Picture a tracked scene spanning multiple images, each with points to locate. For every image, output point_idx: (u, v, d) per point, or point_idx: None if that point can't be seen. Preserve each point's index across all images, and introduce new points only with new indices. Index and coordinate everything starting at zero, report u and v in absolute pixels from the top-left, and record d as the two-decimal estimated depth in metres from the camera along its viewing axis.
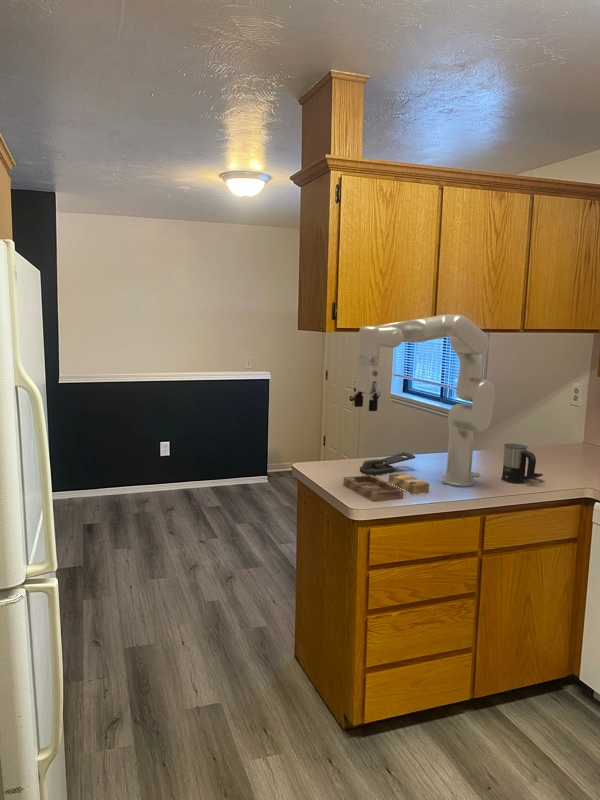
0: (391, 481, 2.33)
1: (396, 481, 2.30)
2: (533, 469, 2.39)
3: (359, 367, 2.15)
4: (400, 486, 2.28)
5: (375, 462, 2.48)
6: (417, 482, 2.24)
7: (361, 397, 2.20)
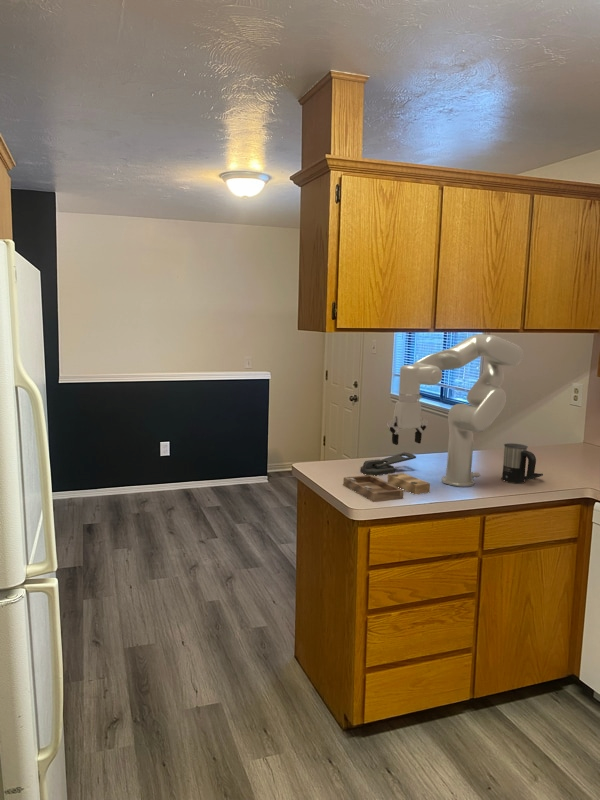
0: (391, 481, 2.33)
1: (396, 481, 2.30)
2: (533, 469, 2.39)
3: (407, 406, 2.21)
4: (401, 486, 2.28)
5: (376, 462, 2.48)
6: (418, 482, 2.25)
7: None
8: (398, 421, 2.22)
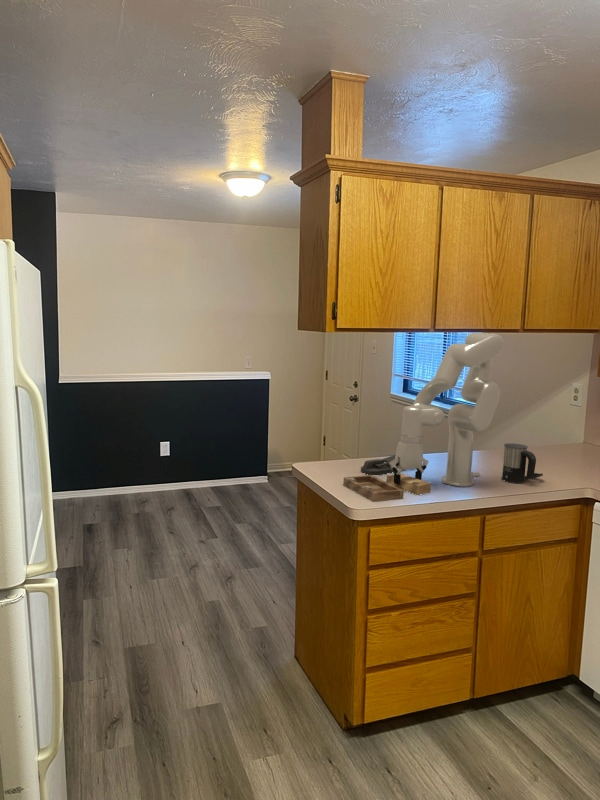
0: (390, 482, 2.31)
1: None
2: (533, 469, 2.39)
3: (410, 446, 2.24)
4: (401, 487, 2.26)
5: (376, 462, 2.49)
6: (419, 482, 2.24)
7: None
8: (401, 461, 2.25)
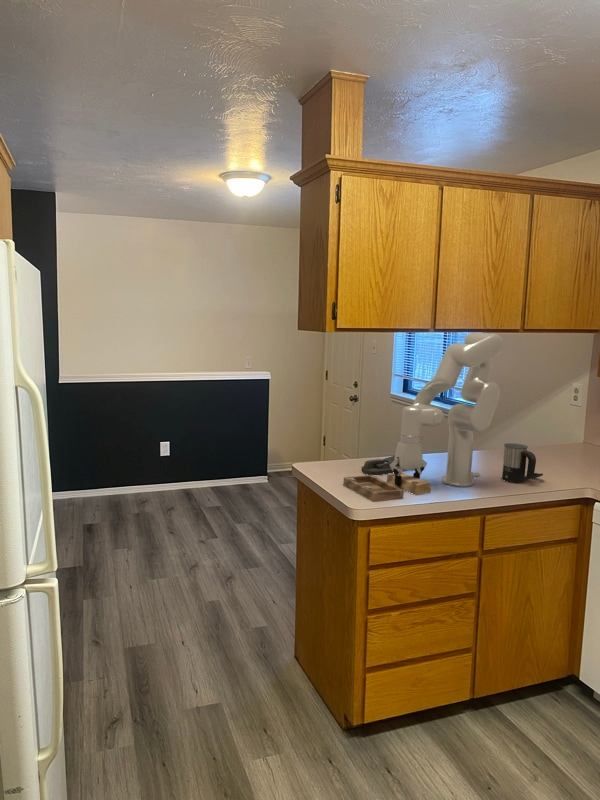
0: (390, 481, 2.32)
1: None
2: (533, 469, 2.39)
3: (409, 447, 2.24)
4: (401, 486, 2.27)
5: (377, 462, 2.49)
6: (418, 481, 2.24)
7: None
8: (400, 462, 2.24)
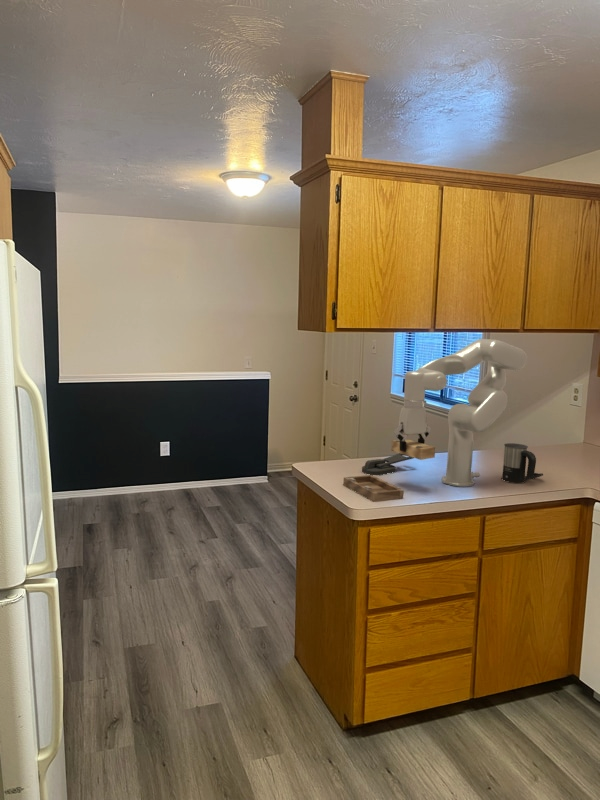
0: (395, 447, 2.30)
1: None
2: (533, 469, 2.39)
3: (413, 411, 2.23)
4: (406, 451, 2.25)
5: (377, 462, 2.49)
6: (423, 446, 2.23)
7: None
8: (404, 427, 2.23)
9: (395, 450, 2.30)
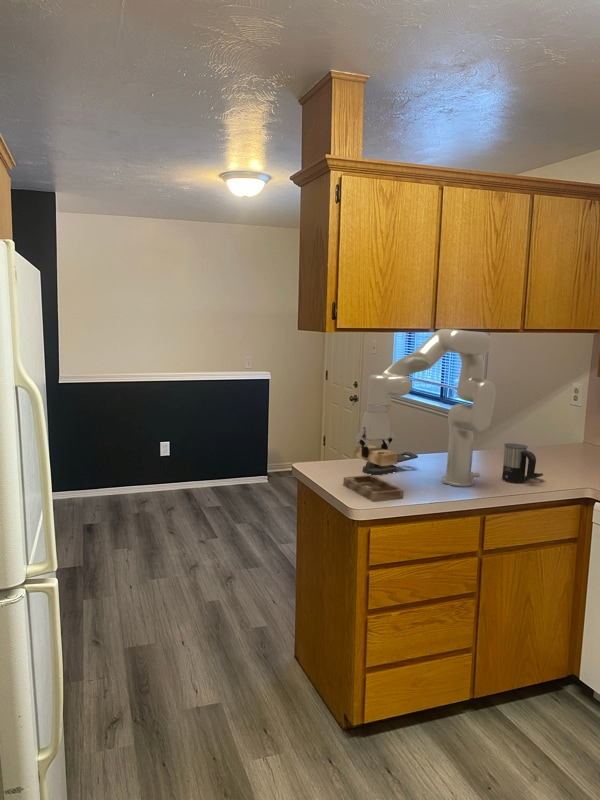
0: (357, 452, 2.23)
1: None
2: (533, 469, 2.39)
3: (376, 416, 2.16)
4: (368, 457, 2.19)
5: None
6: (385, 452, 2.16)
7: None
8: (366, 432, 2.16)
9: (357, 456, 2.23)
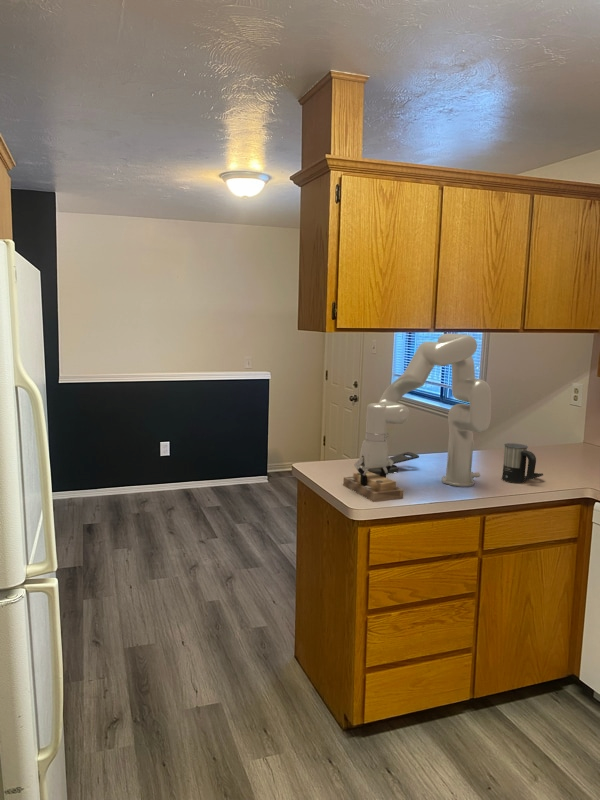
0: (356, 480, 2.25)
1: None
2: (533, 469, 2.39)
3: (374, 445, 2.17)
4: (366, 485, 2.20)
5: None
6: (384, 480, 2.17)
7: None
8: (365, 461, 2.18)
9: None
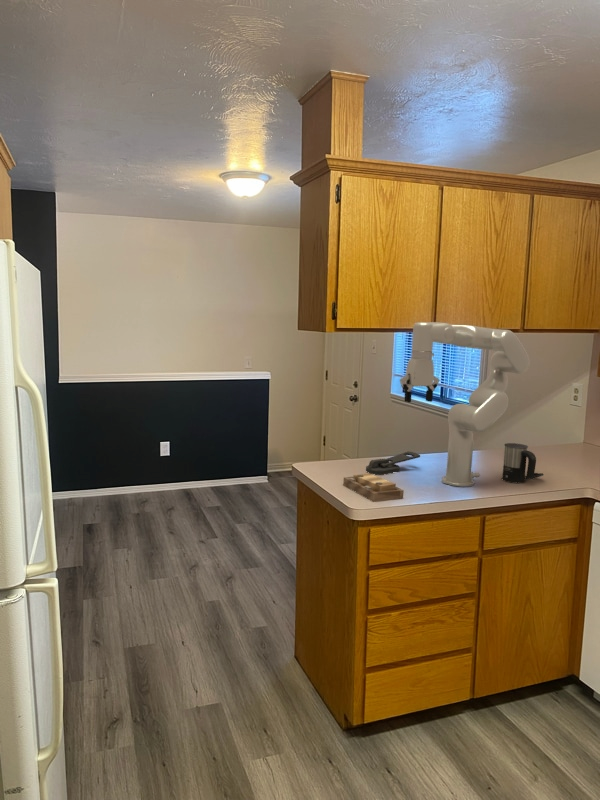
0: (356, 481, 2.25)
1: (361, 482, 2.23)
2: (533, 469, 2.39)
3: (421, 362, 2.21)
4: None
5: (381, 461, 2.50)
6: (383, 483, 2.17)
7: None
8: (411, 378, 2.21)
9: None
